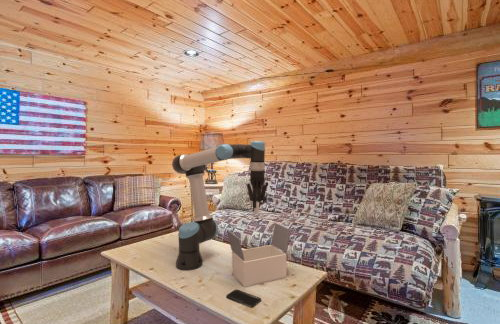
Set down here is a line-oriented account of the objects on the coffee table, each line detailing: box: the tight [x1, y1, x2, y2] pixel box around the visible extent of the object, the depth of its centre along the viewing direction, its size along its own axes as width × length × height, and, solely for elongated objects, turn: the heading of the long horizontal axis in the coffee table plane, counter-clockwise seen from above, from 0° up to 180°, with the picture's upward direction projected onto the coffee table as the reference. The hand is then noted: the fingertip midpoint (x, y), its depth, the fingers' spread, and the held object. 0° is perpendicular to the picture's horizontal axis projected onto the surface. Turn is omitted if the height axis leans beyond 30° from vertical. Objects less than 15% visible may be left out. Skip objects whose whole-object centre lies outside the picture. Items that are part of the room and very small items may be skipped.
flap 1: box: [226, 229, 245, 261], centre depth 144 cm, size 16×12×1 cm
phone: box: [225, 289, 262, 309], centre depth 128 cm, size 8×1×15 cm
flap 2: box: [270, 222, 292, 254], centre depth 155 cm, size 16×12×1 cm
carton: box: [231, 244, 287, 288], centre depth 151 cm, size 16×24×12 cm, turn 115°
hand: (256, 213), depth 153 cm, fingers closed
